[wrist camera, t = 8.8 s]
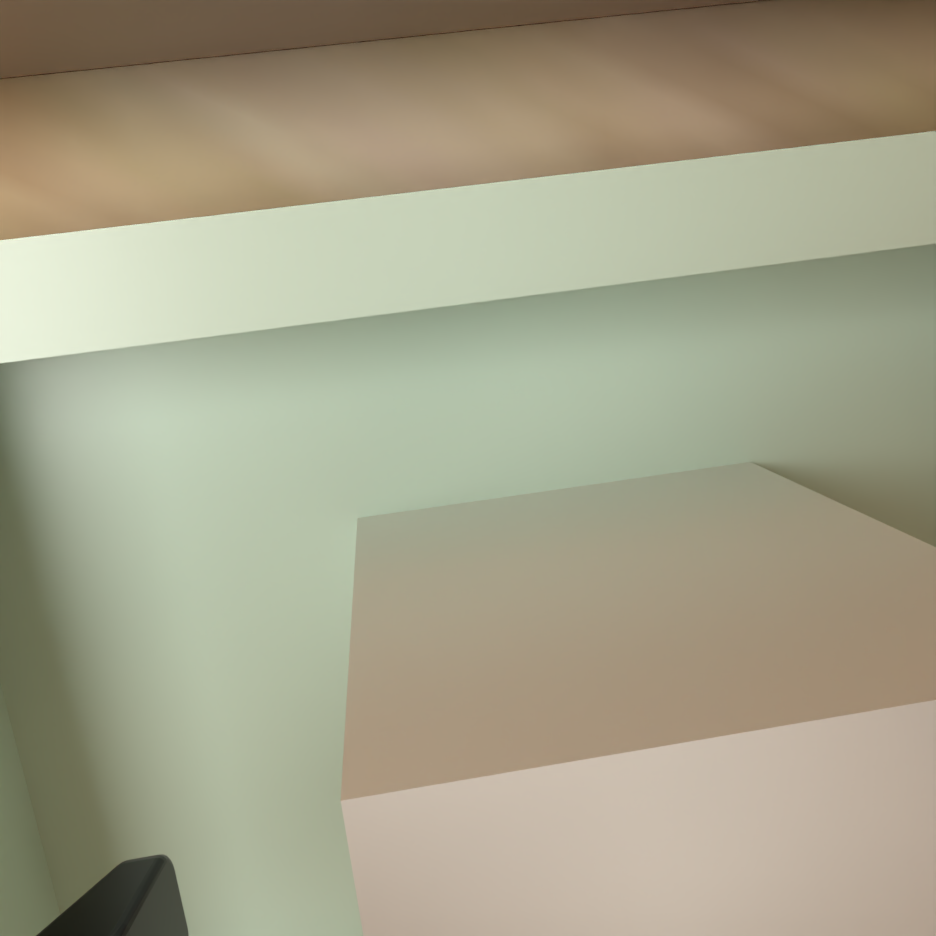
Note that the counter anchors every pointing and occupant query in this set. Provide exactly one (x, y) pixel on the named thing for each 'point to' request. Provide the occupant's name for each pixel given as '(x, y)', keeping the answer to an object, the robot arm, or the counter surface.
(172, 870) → the robot arm
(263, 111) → the counter surface
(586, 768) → the stone block
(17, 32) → the bin
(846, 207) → the bin
